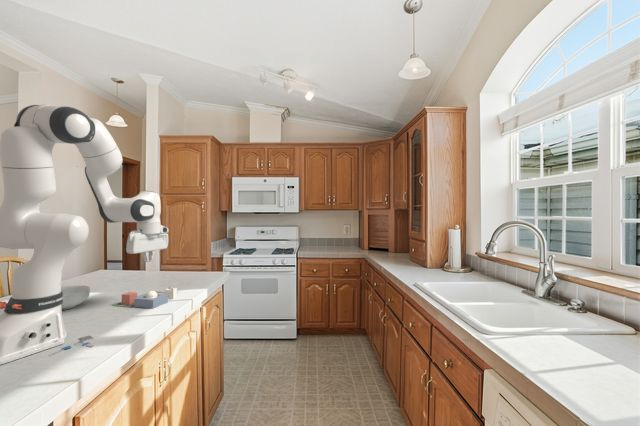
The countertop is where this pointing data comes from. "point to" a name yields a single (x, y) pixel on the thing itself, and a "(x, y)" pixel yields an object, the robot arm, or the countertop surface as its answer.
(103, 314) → the countertop surface
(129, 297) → the red cube
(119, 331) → the countertop surface
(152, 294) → the dome
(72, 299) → the cereal bowl
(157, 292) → the track
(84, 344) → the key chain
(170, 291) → the die
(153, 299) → the dome collar
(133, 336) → the countertop surface
